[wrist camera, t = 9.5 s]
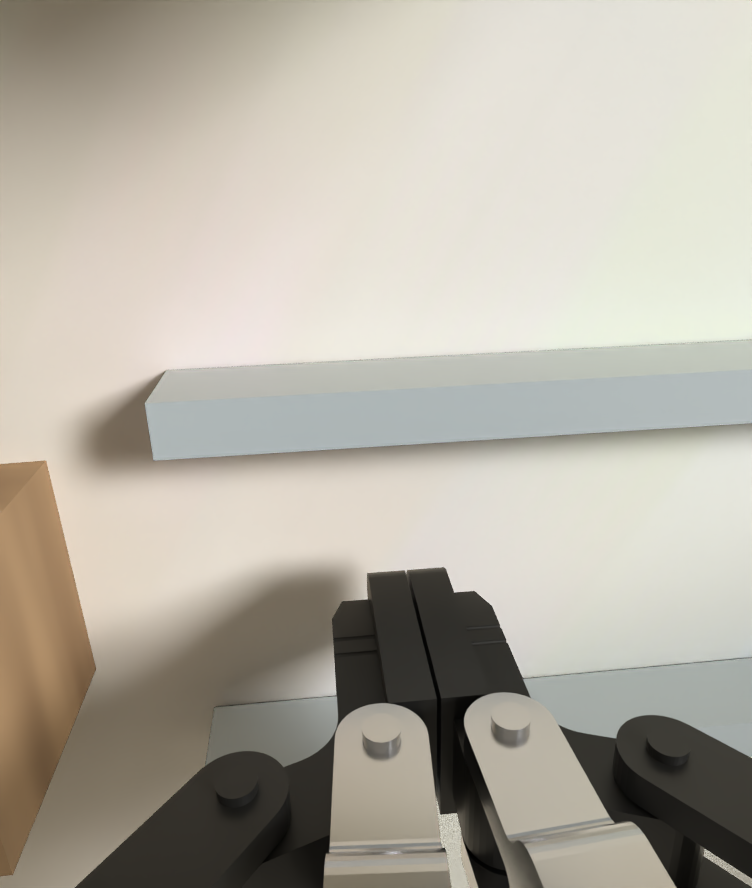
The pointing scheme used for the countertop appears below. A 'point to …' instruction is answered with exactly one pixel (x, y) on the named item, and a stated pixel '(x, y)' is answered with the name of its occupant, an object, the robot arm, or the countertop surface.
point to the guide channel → (468, 419)
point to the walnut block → (35, 650)
